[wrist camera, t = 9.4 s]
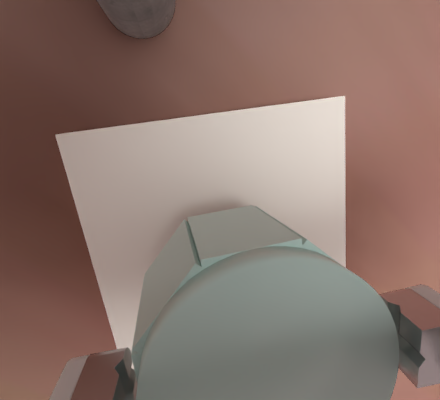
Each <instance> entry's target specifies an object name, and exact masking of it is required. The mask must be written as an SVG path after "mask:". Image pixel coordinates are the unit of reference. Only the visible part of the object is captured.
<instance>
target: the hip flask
mask: <svg viewBox="0 0 440 400" xmlns="http://www.w3.org/2000/svg"><path fill="white" fill-rule="evenodd" d="M97 2H98V3H99V5H100V6H101V8H102V9H103V11H104V12H105V14H106V15H107V17H108V18H109V20H110V21H111V22H112V24H113V25H114V26H115V27H116V28H117V29H119V30H120V31H121V32H123V33H124V34H126V35H129V36H131V37H135V38H144V39H145V38H151V37H154V36H156V35H158V34H160V33H161V32H162V31H164V30H165V29H166V27H167V26H168V25H169V23H170V22H171V20H172V17H173V14H174V11H175V0H97Z"/></svg>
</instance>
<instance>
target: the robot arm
mask: <svg viewBox="0 0 440 400" xmlns="http://www.w3.org/2000/svg"><path fill="white" fill-rule="evenodd" d="M379 296H380V297H381V298H382V299H383V301H384V302H385V304H386V306H387V307H388V309H389V311H390V313H391V315H392V318H393V321H394V323H395V326H396V331H397V335H398V341H399V369H400V370H401V371H402V372H403V373H404V374H405V375H406V376H407V378H408V379H409V380H410V381H411V382H412V383H413V384H414V385H415V386H416V387H417V388H420V387H425V386H430V385H434V384H439V383H440V294H439V293H438V292H436V291H435V290H433V289H432V288H430V287H428V286H426V285H422V284H420V285H416V286H412V287H408V288H405V289H400V290H396V291H391V292H387V293H382V294H379ZM131 366H132V358H131V351H130V349H129V348H128V347H126V348H121V349H116V350H110V351H105V352H100V353H94V354H90V355H86V356H80V357H75V358H71V359H70V360H69V361H68V362H67V363H66V365H65V367H64V369H63V371H62V373H61V375H60V377H59V380H58V382H57V384H56V386H55V388H54V390H53V392H52V394H51V396H50V398H49V400H136V392H137V384H138V382H137V378H136V374H135V370H134V369H132V368H131Z"/></svg>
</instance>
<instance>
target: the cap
mask: <svg viewBox="0 0 440 400" xmlns="http://www.w3.org/2000/svg"><path fill="white" fill-rule="evenodd" d="M187 218H188V221H186V220H185V219H184V220H183V222H182V223H181V224H180V226H179V227H178V228H177V230H176V231H175V233H174V234H173V235H172V237H171V238H170V240H169V241H168V242H167V244H166V245H165V246H164V248H163V249H162V251H161V252H160V253H159V255H158V256H157V257H156V259H155V260H154V262H153V263H152V264H151V266H150V267H149V269H148V270H147V271H146V273H145V276H144V280H143V286H142V292H141V298H140V304H139V310H138V316H137V322H136V328H135V334H134V339H133V345H132V351H131V358H132V362H133V366H134V370H135V374H136V378H137V382H138V384H137V392H136V400H390V398H391V396H392V392H393V389H394V386H395V383H396V378H397V373H398V368H399V341H398V335H397V331H396V326H395V323H394V321H393V318H392V315H391V313H390V311H389V309H388V307H387V306H386V304H385V302H384V301H383V299H382V298H381V297H380V296H379V294H378V293H377V292H376V291H375V289H373V288H372V287H371V286H370V285H369V284H368V283H367V282H366V281H364V280H363V279H362V278H360V277H359V276H357V275H356V274H354V273H353V272H351V271H350V270H348V269H347V268H345V267H344V266H342V265H341V264H340V263H338V262H337V261H335V260H334V259H333V258H331V257H330V256H329V255H327V254H326V253H325V252H323V251H322V250H321V249H319V248H318V247H317V246H315V245H314V244H313V243H311V242H310V241H309V240H307V239H306V238H304V237H303V236H301V235H300V234H298V233H296V232H295V231H293V230H292V229H290V228H289V227H287V226H286V225H284V224H283V223H281V222H280V221H278V220H277V219H275V218H273V217H272V216H270V215H269V214H267V213H266V212H264V211H263V210H261V209H260V208H258V207H257V206H255V207H254V206H253V205H250V206H245V207H239V208H234V209H229V210H223V211H218V212H213V213H207V214H202V215H197V216H191V217H187Z"/></svg>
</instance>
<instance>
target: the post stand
mask: <svg viewBox="0 0 440 400" xmlns="http://www.w3.org/2000/svg"><path fill="white" fill-rule="evenodd" d="M55 136H56V140H57V143H58V146H59V150H60V153H61V157H62V160H63V164H64V167H65V171H66V174H67V178H68V181H69V185H70V188H71V191H72V195H73V198H74V202H75V205H76V209H77V212H78V216H79V219H80V223H81V226H82V229H83V233H84V236H85V240H86V243H87V247H88V250H89V254H90V257H91V261H92V264H93V268H94V271H95V274H96V278H97V281H98V285H99V288H100V292H101V295H102V299H103V302H104V306H105V309H106V312H107V316H108V319H109V323H110V326H111V330H112V333H113V337H114V340H115V344H116V347H117V349H121V348H126V347H128V348H129V349H130V351H132V345H133V339H134V334H135V328H136V322H137V316H138V310H139V304H140V298H141V292H142V286H143V280H144V276H145V273H146V271H147V270H148V269H149V267H150V266H151V264H152V263H153V262H154V260H155V259H156V257H157V256H158V255H159V253H160V252H161V251H162V249H163V248H164V246H165V245H166V244H167V242H168V241H169V240H170V238H171V237H172V235H173V234H174V233H175V231H176V230H177V228H178V227H179V226H180V224H181V223H182V222H183V220H184V219H185V220H186V221H188V218H187V217H191V216H197V215H202V214H207V213H213V212H218V211H223V210H229V209H234V208H239V207H245V206H250V205H253V206H254V207H255V206H257V207H258V208H260V209H261V210H263V211H264V212H266V213H267V214H269V215H270V216H272V217H273V218H275V219H277V220H278V221H280V222H281V223H283V224H284V225H286V226H287V227H289V228H290V229H292V230H293V231H295V232H296V233H298V234H300V235H301V236H303V237H304V238H306V239H307V240H309V241H310V242H311V243H313V244H314V245H315V246H317V247H318V248H319V249H321V250H322V251H323V252H325V253H326V254H327V255H329V256H330V257H331V258H333V259H334V260H335V261H337V262H338V263H340V264H341V265H342V266H344V267H345V268H346V207H345V96H340V97H332V98H325V99H317V100H310V101H302V102H295V103H287V104H280V105H272V106H265V107H257V108H250V109H242V110H235V111H227V112H220V113H212V114H205V115H197V116H190V117H182V118H175V119H167V120H160V121H152V122H145V123H137V124H130V125H122V126H115V127H107V128H100V129H92V130H85V131H77V132H70V133H62V134H55ZM131 368H132V369H134V366H133V362H132V366H131Z"/></svg>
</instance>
